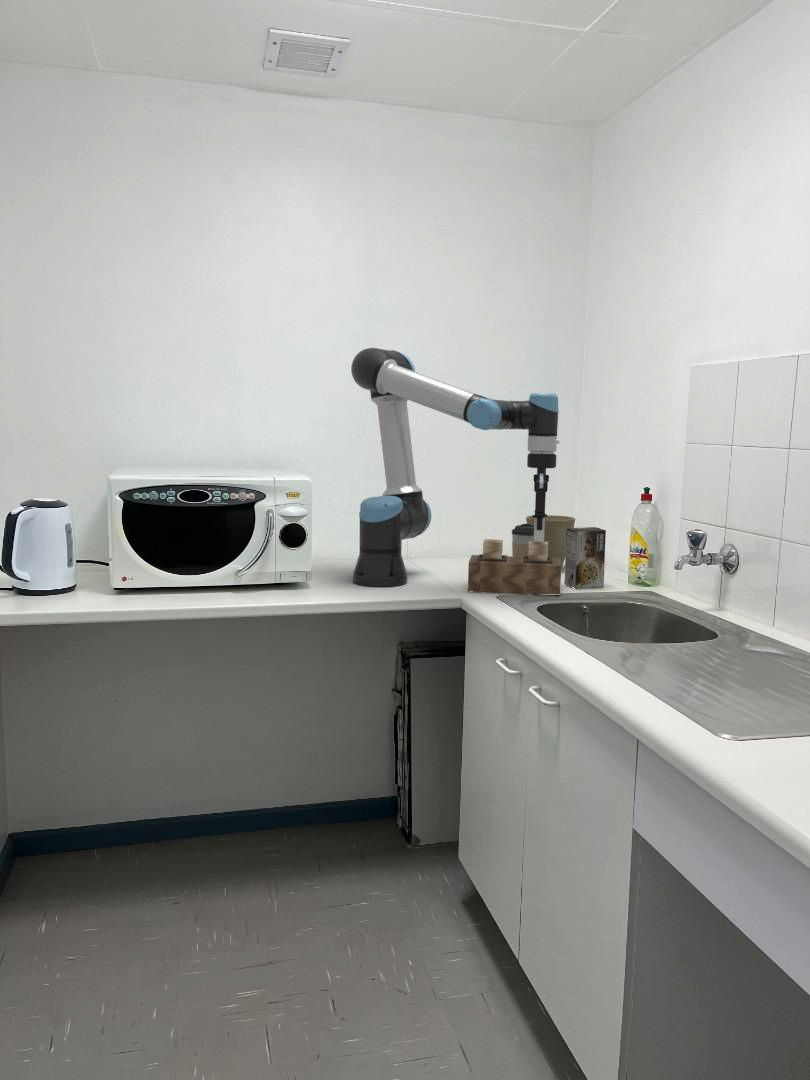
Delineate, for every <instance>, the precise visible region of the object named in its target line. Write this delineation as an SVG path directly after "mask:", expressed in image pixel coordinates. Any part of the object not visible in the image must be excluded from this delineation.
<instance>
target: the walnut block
mask: <svg viewBox="0 0 810 1080" xmlns="http://www.w3.org/2000/svg"><path fill="white" fill-rule="evenodd" d="M467 570H468V573H467V574H468V575H467V578H468V580H467V592H468V591H473V592H472V593H482V592H485V593H486V594H504V593H505V594H504V595H506V594H507V595H508V594H509V595H511V594H512V595H525V594H560V595H561V582H562V581H561V580H562V579H561V578H562V567H561V562H560V558H552V557H548V559H547V561H529V560H528V556H523V557H513V556H512V555H510V556H509V555H506V554H502V559H483V553H482V554H480V553H479V554H471V555H470V558H469V561H468V569H467Z"/></svg>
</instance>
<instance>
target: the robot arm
mask: <svg viewBox="0 0 810 1080" xmlns="http://www.w3.org/2000/svg"><path fill="white" fill-rule="evenodd" d="M414 365H415V364H414V363H413V361H412V360H411V359H410V357H408V356H407V355H406V354H404V353H402V352H401V351H397V350H393V349H391V350H390V349H383V348H377V347H367V348H364V349H362V350H361V351H359V352H358V353H357V354H356V355H355V356H354V358H353V360H352V362H351V368H350V370H351V375H352V379H353V381H354V382H355V383H356V384H357V386H359V387H360V388H362V389H364V390H368V391H369V392H370V393H369V395H370V401H371V402H373V403H374V404H375V405H376V407H377V415H378V424H379V432H380V441H381V442H380V443H381V450H382V458H383V467H384V476H385V483H386V489H385V490H384V492H383V493H382V495H378V496H372V497H368V498H365V499H363V500H362V501H361V503H360V506H359V513H358V515H359V516H358V517H359V553H358V558H357V560H356V563H355V566H354V569H353V573H352V582H353V583H354V584H357V585H360V586H365V587H366V586H367V587H381V588H383V587H384V588H385V587H395V586H396V587H397V586H401V585H405V584H407V583H408V572H407V569H406V566H405V562H404V558H403V556H402V546H403V545H402V543H403V542H402V541H403V540H407V539H414V538H416V537H418V536H420V535H422V534H424V533H425V532H426V531H427V529H429V526H430V525H431V522H432V510H431V507H430V505H429V503H428V502H426V500H425V499H424V495H423V489H421V488H420V487H419V486H418V485H417V480H416V473H415V471H416V470H415V464H414V453H413V445H412V437H411V435H412V434H411V429H410V417H409V409H408V401H410V402H413V403H416V404H418V405H421V406H423V407H426V408H429V409H431V410H434V411H437V412H439V413H442V414H445V415H448V416H450V417H453V418H456V419H458V420H461V421H464V422H466V423H468V424H470V425H471V426H472V427H474V428H475V429H479V430H482V431H487V430H488V431H490V430H496V431H497V430H500V431H501V430H528V431H527V432H528V434H527V452H529V453H527V456H526V457H527V459H526V460H527V462H526V467H528V468H531V469H536V474H533V482H534V485H533V491H534V493H535V503H534V504H535V505H534V507H535V508H534V514H532V515H531V516H532V518H534V542H544V528H545V517H547V515H548V514H546V496H547V495H546V493H548V484H549V481H550V475H549V474H547V469H556V467H557V454H556V453H555V452H557V450H558V449H557V448H558V447H557V444H560V440H559V439H557V438H558V425H559V424H558V423H559V412H560V410H559V396H558V395H557V394H556V393H555V392H554V393H553V392H535V393H534V392H533V393H530V394H529V398H528V400H502V399H501V400H500V399H493V398H489V397H486V396H483V395H480V394H477V393H475V392H472V391H469V390H467V389H464V388H461V387H458V386H455V385H452V384H450V383H447V382H444V381H441V380H439V379H436V378H433V377H430V376H427V375H425V374H422V373H419V372H417V371H416V368H415V366H414Z"/></svg>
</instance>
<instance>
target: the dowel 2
mask: <svg viewBox="0 0 810 1080" xmlns="http://www.w3.org/2000/svg"><path fill="white" fill-rule="evenodd" d="M547 559H548V542H534V541H529V551H528V560H529V561H547Z"/></svg>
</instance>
